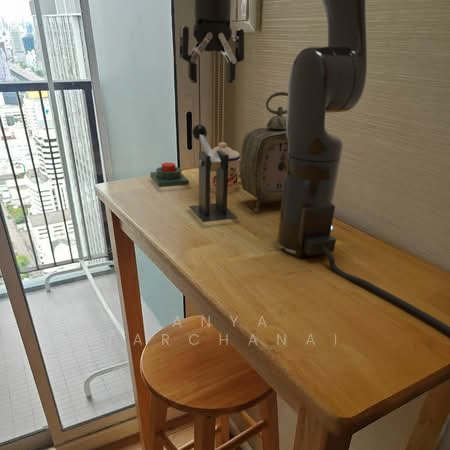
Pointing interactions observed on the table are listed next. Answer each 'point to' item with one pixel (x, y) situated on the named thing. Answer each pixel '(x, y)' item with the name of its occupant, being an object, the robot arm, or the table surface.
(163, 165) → the button
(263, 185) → the tabletop clock
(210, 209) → the bracket
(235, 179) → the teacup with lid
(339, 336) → the table surface
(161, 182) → the button box
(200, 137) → the lever
